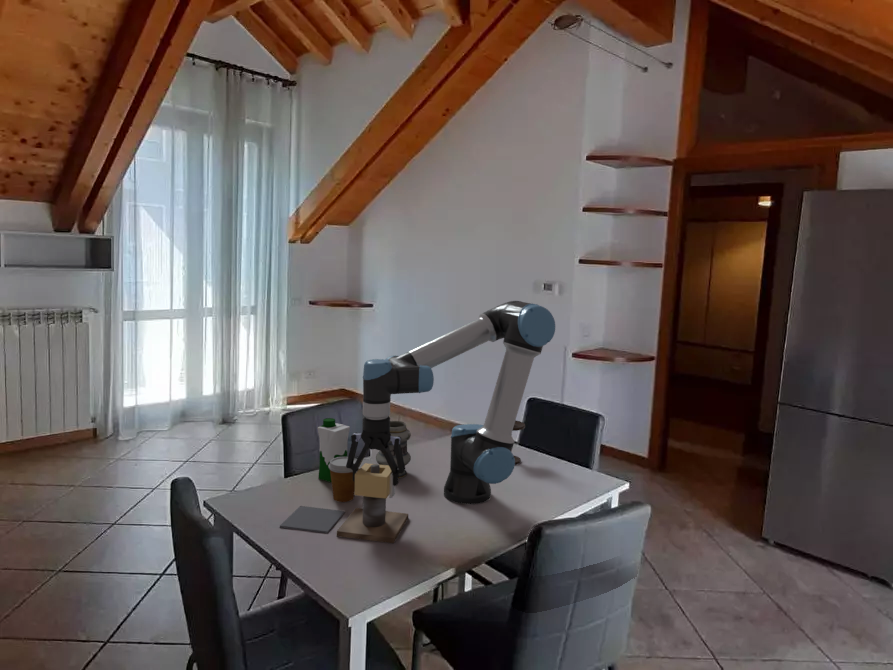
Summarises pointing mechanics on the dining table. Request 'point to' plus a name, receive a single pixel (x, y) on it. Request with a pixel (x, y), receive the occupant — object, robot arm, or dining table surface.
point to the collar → (373, 481)
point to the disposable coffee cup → (342, 479)
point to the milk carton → (331, 445)
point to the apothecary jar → (400, 430)
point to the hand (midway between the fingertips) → (375, 494)
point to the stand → (373, 520)
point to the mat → (312, 519)
